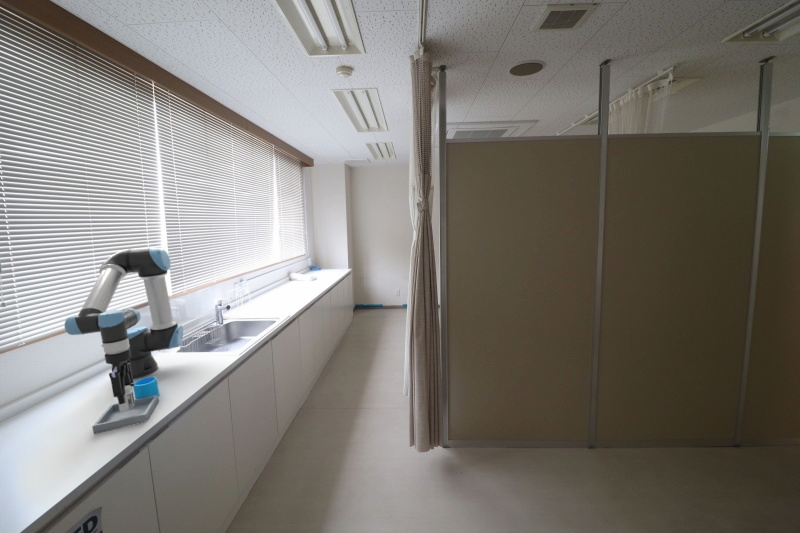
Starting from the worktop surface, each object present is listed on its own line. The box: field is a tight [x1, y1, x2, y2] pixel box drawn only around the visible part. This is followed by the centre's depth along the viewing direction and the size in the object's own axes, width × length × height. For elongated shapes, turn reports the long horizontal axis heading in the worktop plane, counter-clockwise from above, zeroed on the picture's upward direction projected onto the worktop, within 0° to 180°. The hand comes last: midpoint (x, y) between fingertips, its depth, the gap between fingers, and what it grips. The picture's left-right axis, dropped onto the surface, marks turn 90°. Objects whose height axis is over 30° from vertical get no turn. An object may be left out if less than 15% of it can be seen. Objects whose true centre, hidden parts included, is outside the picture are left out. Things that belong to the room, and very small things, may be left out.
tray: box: [92, 395, 160, 435], centre depth 128 cm, size 16×16×3 cm
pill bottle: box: [125, 385, 135, 409], centre depth 127 cm, size 5×5×8 cm
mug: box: [132, 376, 160, 400], centre depth 142 cm, size 12×8×8 cm
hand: (127, 406), depth 127 cm, fingers closed on pill bottle, 5 cm apart
